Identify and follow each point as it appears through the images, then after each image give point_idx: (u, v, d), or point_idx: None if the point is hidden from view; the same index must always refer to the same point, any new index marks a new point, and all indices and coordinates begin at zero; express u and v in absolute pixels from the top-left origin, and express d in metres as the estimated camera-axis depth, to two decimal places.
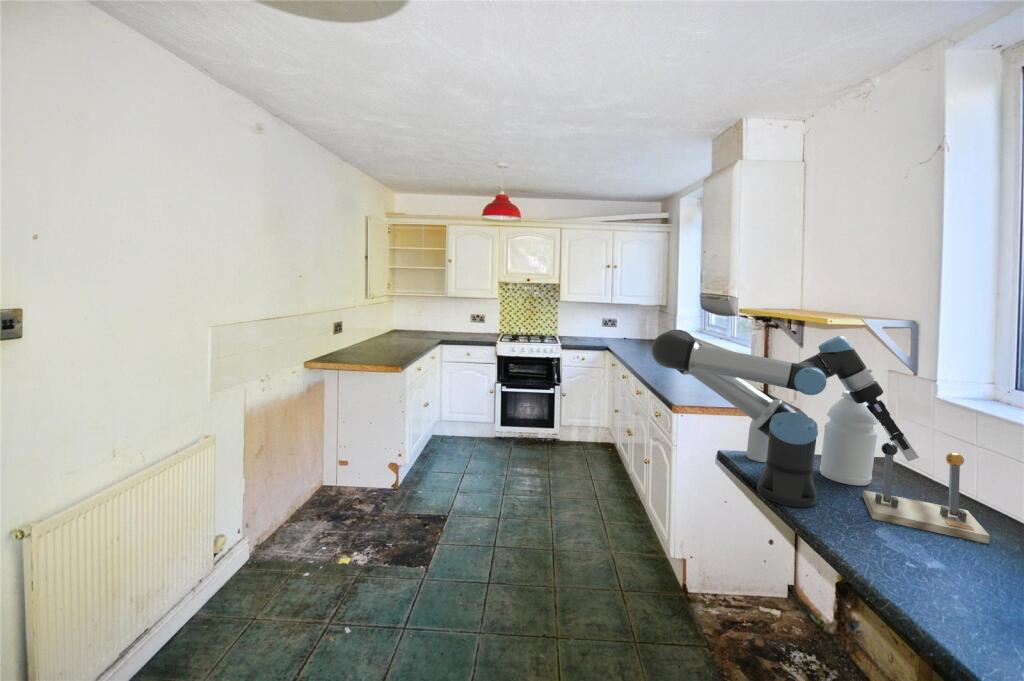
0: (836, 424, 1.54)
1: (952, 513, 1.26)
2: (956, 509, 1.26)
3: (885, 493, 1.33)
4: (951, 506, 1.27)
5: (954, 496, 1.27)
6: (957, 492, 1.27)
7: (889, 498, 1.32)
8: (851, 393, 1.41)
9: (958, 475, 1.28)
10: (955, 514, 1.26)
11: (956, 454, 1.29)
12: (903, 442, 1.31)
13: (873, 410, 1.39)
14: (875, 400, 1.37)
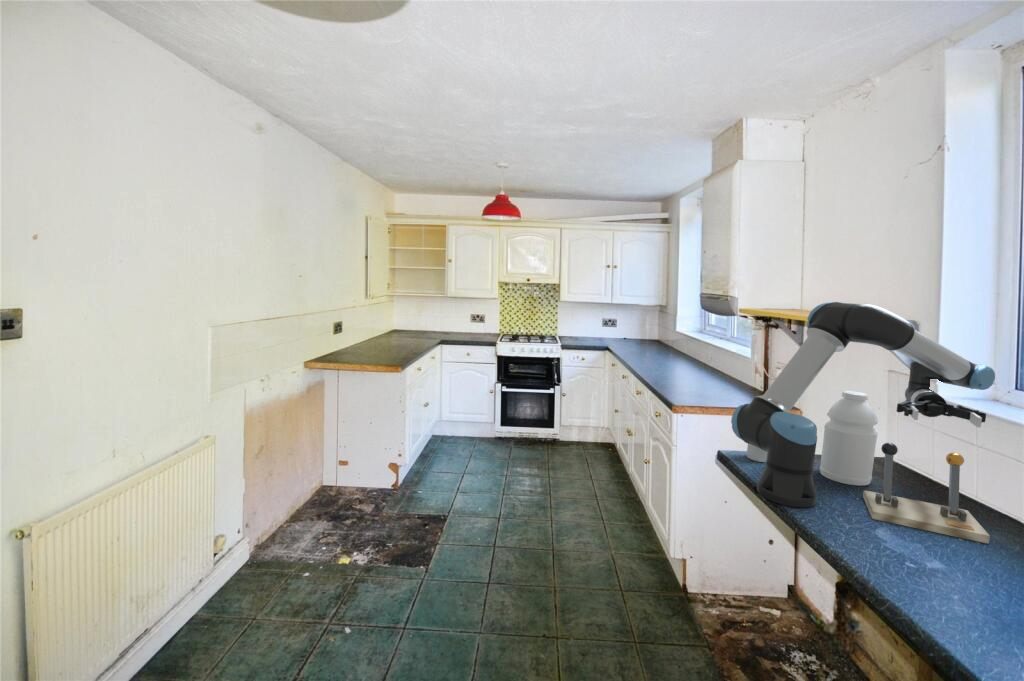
0: (836, 424, 1.54)
1: (952, 513, 1.26)
2: (956, 509, 1.26)
3: (885, 493, 1.33)
4: (951, 506, 1.27)
5: (954, 496, 1.27)
6: (957, 492, 1.27)
7: (889, 498, 1.32)
8: None
9: (958, 475, 1.28)
10: (955, 514, 1.26)
11: (956, 454, 1.29)
12: None
13: None
14: None
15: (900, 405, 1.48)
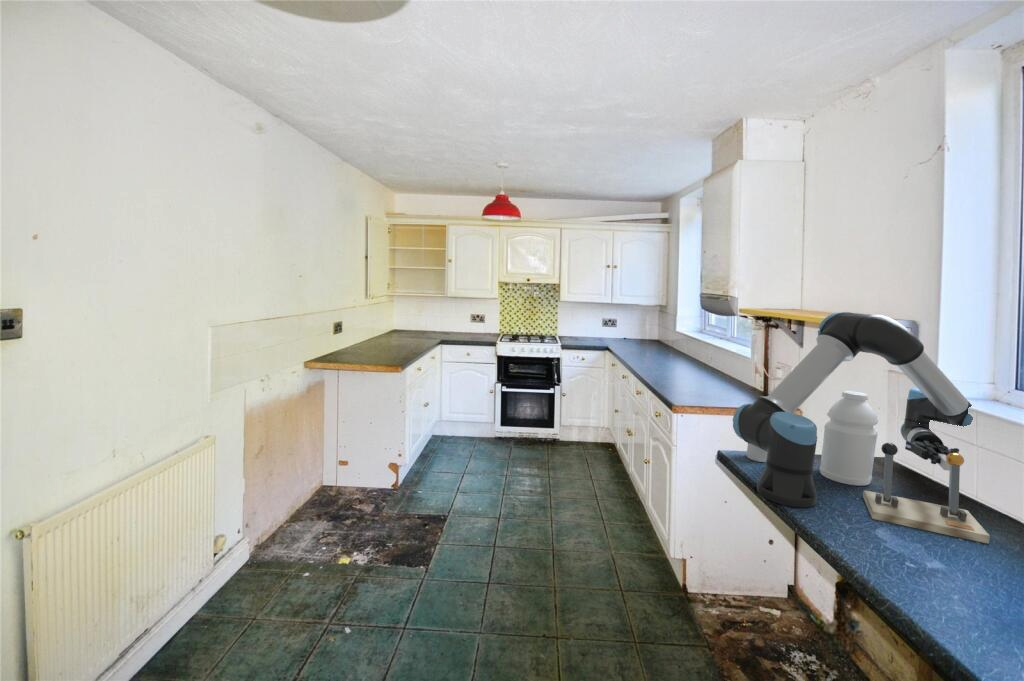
0: (836, 424, 1.54)
1: (952, 513, 1.26)
2: (956, 509, 1.26)
3: (885, 493, 1.33)
4: (951, 506, 1.27)
5: (954, 496, 1.27)
6: (957, 492, 1.27)
7: (889, 498, 1.32)
8: None
9: (958, 475, 1.28)
10: (955, 514, 1.26)
11: (956, 454, 1.29)
12: None
13: None
14: None
15: (927, 452, 1.42)
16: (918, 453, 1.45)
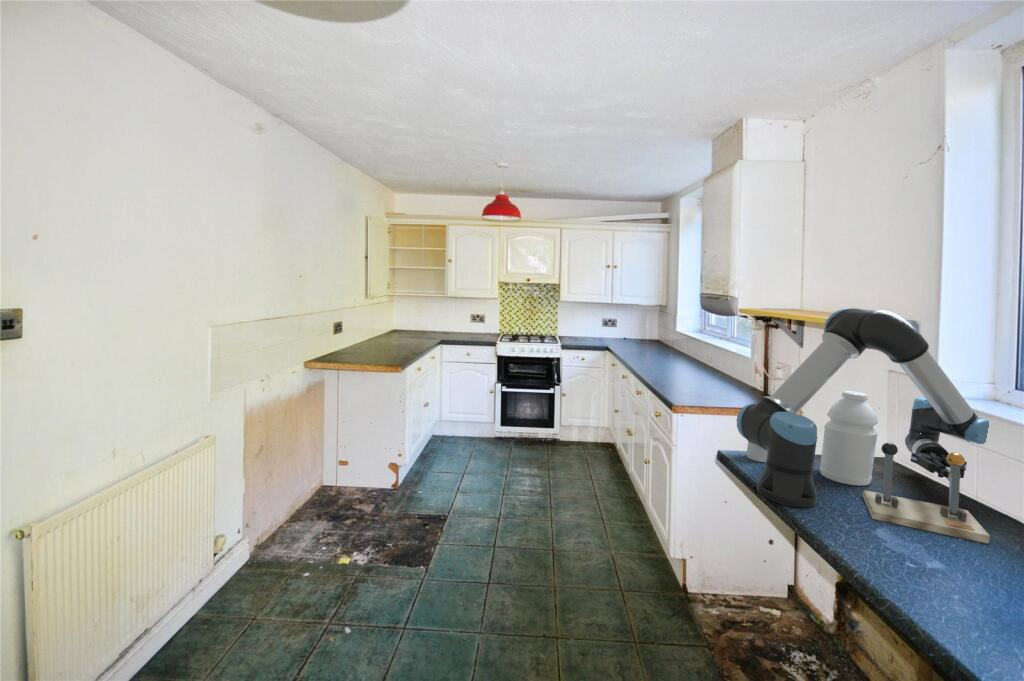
0: (836, 424, 1.54)
1: (952, 513, 1.26)
2: (956, 509, 1.26)
3: (885, 493, 1.33)
4: (951, 506, 1.27)
5: (954, 496, 1.27)
6: (957, 492, 1.27)
7: (889, 498, 1.32)
8: None
9: (958, 475, 1.27)
10: (955, 514, 1.26)
11: (957, 454, 1.28)
12: None
13: None
14: None
15: (934, 465, 1.37)
16: (924, 466, 1.40)
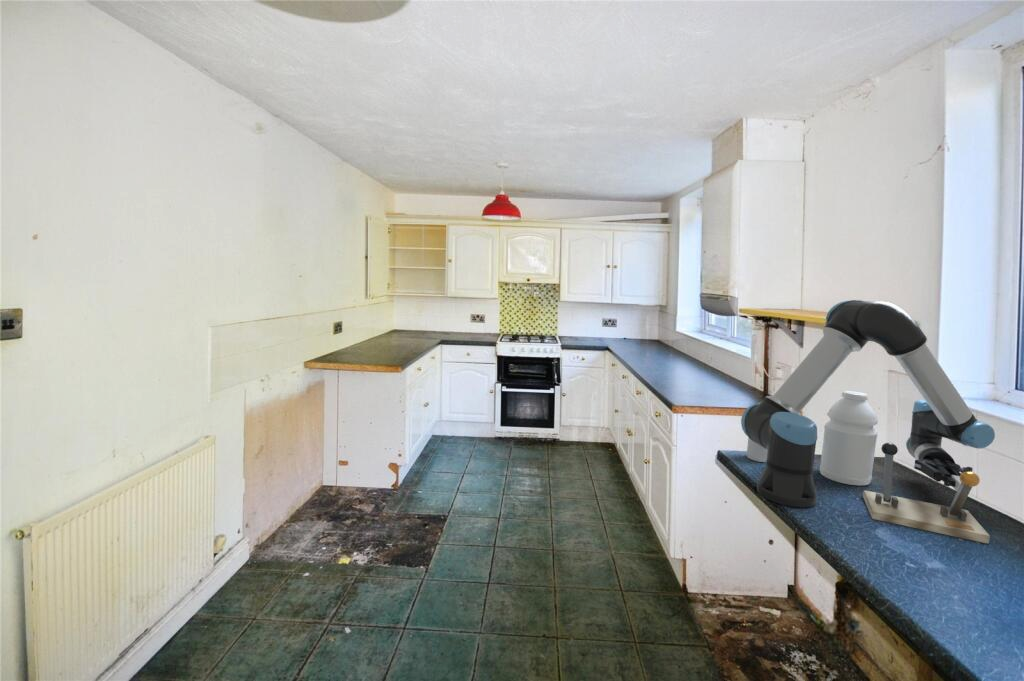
0: (836, 424, 1.54)
1: (951, 514, 1.27)
2: (956, 513, 1.26)
3: (885, 493, 1.33)
4: (952, 510, 1.26)
5: (958, 505, 1.24)
6: (962, 503, 1.23)
7: (889, 498, 1.32)
8: None
9: (967, 492, 1.21)
10: (954, 515, 1.26)
11: (972, 479, 1.18)
12: None
13: None
14: None
15: (939, 474, 1.31)
16: (929, 474, 1.34)
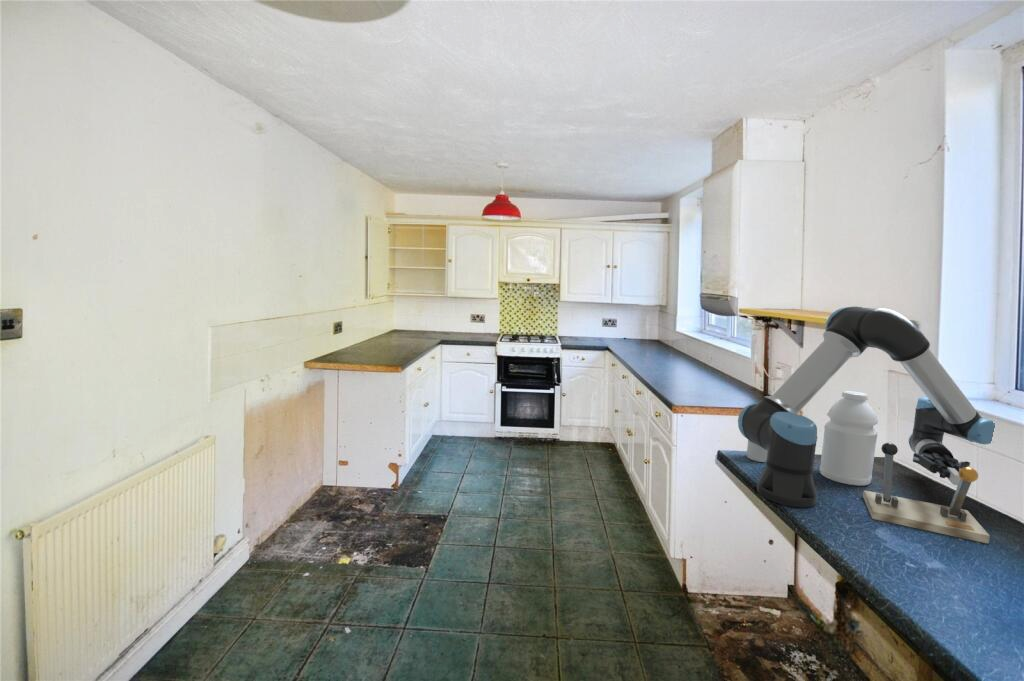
0: (836, 424, 1.54)
1: (951, 514, 1.27)
2: (956, 512, 1.26)
3: (885, 493, 1.33)
4: (952, 510, 1.26)
5: (957, 503, 1.24)
6: (962, 501, 1.23)
7: (889, 498, 1.32)
8: None
9: (967, 489, 1.21)
10: (954, 515, 1.26)
11: (970, 474, 1.19)
12: None
13: None
14: None
15: (935, 466, 1.35)
16: (926, 466, 1.39)
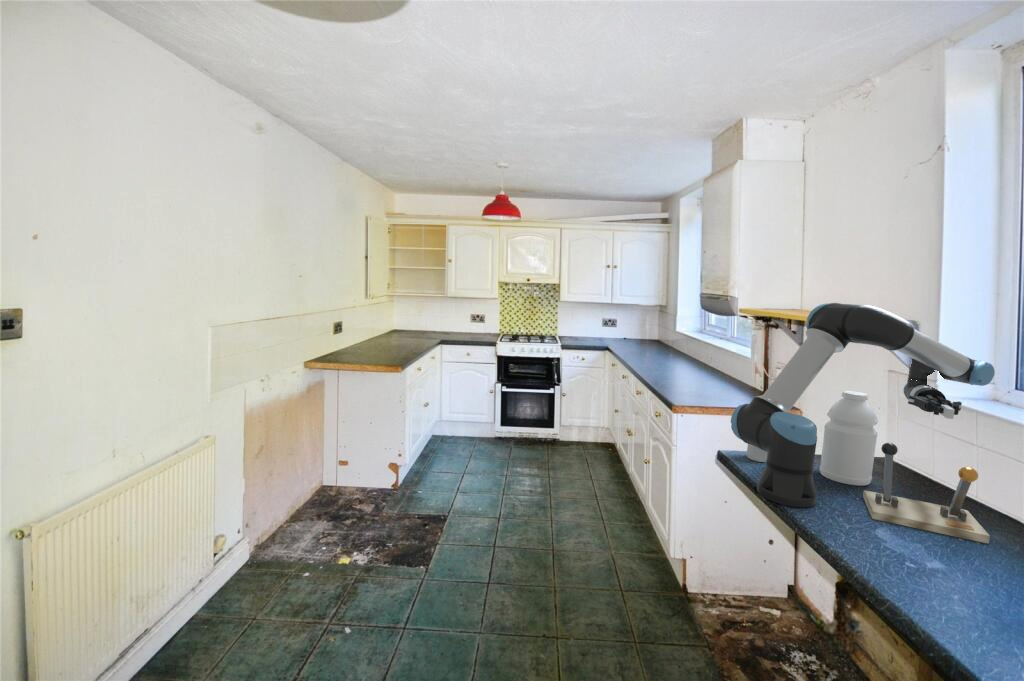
0: (836, 424, 1.54)
1: (951, 514, 1.27)
2: (956, 512, 1.26)
3: (885, 493, 1.33)
4: (952, 510, 1.26)
5: (957, 503, 1.24)
6: (962, 501, 1.23)
7: (889, 498, 1.32)
8: None
9: (967, 489, 1.21)
10: (954, 515, 1.26)
11: (970, 474, 1.19)
12: None
13: None
14: None
15: (930, 404, 1.43)
16: (921, 405, 1.47)
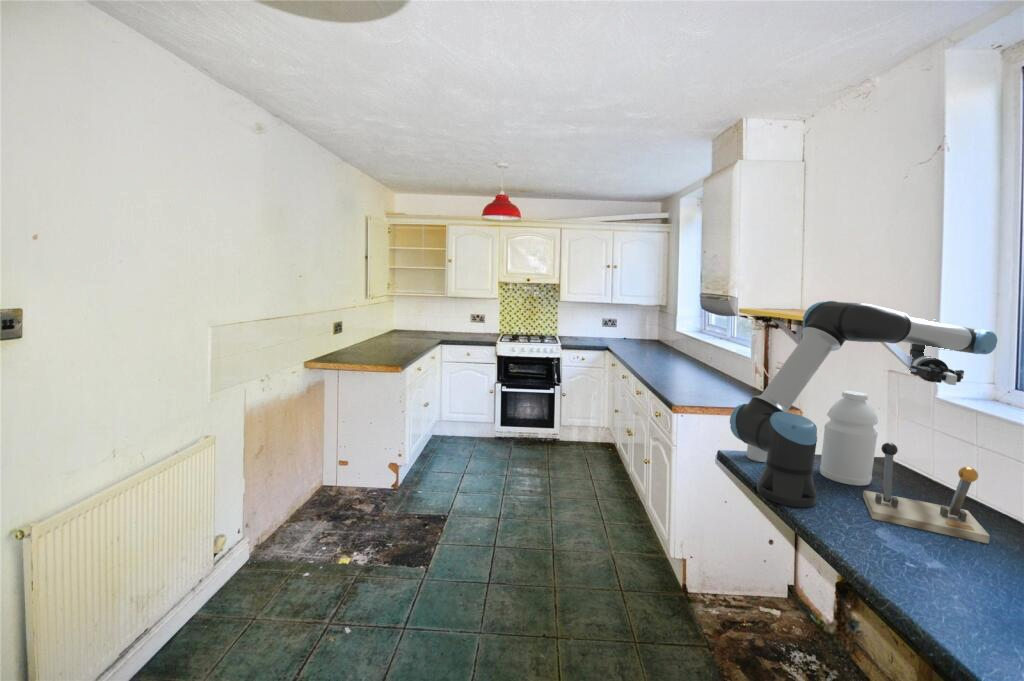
0: (836, 424, 1.54)
1: (951, 514, 1.27)
2: (956, 512, 1.26)
3: (885, 493, 1.33)
4: (952, 510, 1.26)
5: (957, 503, 1.24)
6: (962, 501, 1.23)
7: (889, 498, 1.32)
8: None
9: (967, 489, 1.21)
10: (954, 515, 1.26)
11: (970, 474, 1.19)
12: None
13: None
14: None
15: (932, 372, 1.44)
16: (923, 374, 1.47)
